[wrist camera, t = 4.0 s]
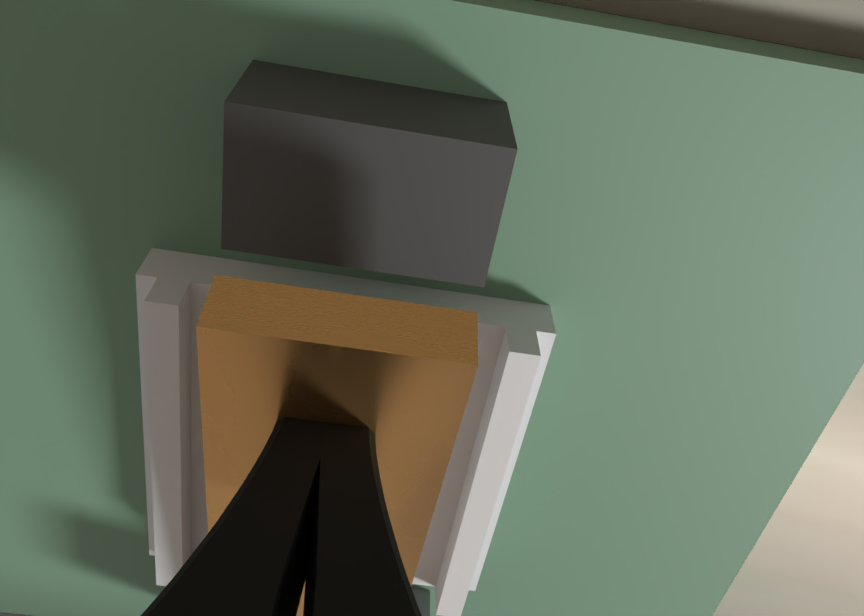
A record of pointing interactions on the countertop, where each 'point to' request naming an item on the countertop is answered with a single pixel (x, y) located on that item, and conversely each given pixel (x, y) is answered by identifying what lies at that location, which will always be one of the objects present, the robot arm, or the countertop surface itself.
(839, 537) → the countertop surface
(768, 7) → the countertop surface
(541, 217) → the board
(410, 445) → the orange brown flat bar
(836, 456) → the countertop surface
